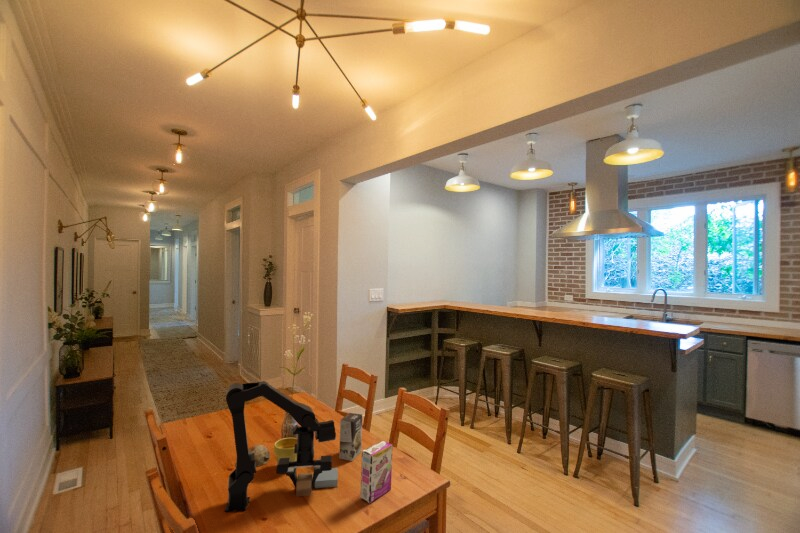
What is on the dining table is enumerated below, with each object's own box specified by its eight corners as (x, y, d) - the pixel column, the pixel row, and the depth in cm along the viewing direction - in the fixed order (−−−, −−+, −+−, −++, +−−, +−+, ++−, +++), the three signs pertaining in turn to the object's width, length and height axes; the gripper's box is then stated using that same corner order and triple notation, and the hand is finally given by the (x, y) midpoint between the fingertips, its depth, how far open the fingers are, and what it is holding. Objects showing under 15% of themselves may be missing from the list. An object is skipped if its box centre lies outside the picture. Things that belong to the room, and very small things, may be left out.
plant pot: (299, 459, 153) (300, 435, 153) (302, 472, 143) (303, 446, 143) (273, 463, 149) (273, 439, 149) (274, 477, 139) (274, 450, 139)
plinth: (337, 486, 134) (337, 479, 134) (314, 488, 132) (314, 481, 132) (337, 474, 142) (337, 467, 142) (316, 476, 140) (316, 469, 140)
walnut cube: (311, 495, 128) (311, 480, 128) (296, 496, 128) (296, 481, 128) (312, 486, 133) (312, 472, 133) (297, 488, 132) (298, 473, 133)
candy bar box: (370, 504, 124) (371, 455, 124) (359, 498, 127) (360, 450, 127) (392, 490, 132) (393, 443, 133) (381, 484, 135) (382, 439, 136)
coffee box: (352, 461, 152) (353, 422, 152) (338, 458, 154) (339, 419, 154) (362, 451, 160) (362, 414, 160) (348, 449, 162) (349, 412, 162)
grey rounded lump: (255, 477, 145) (264, 460, 144) (234, 463, 147) (243, 446, 146) (269, 464, 155) (277, 448, 154) (249, 451, 157) (257, 435, 156)
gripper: (332, 432, 140) (331, 474, 140) (281, 435, 137) (280, 477, 137) (332, 446, 129) (331, 491, 129) (276, 449, 126) (275, 495, 126)
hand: (304, 488), depth 130 cm, fingers closed on walnut cube, 5 cm apart
